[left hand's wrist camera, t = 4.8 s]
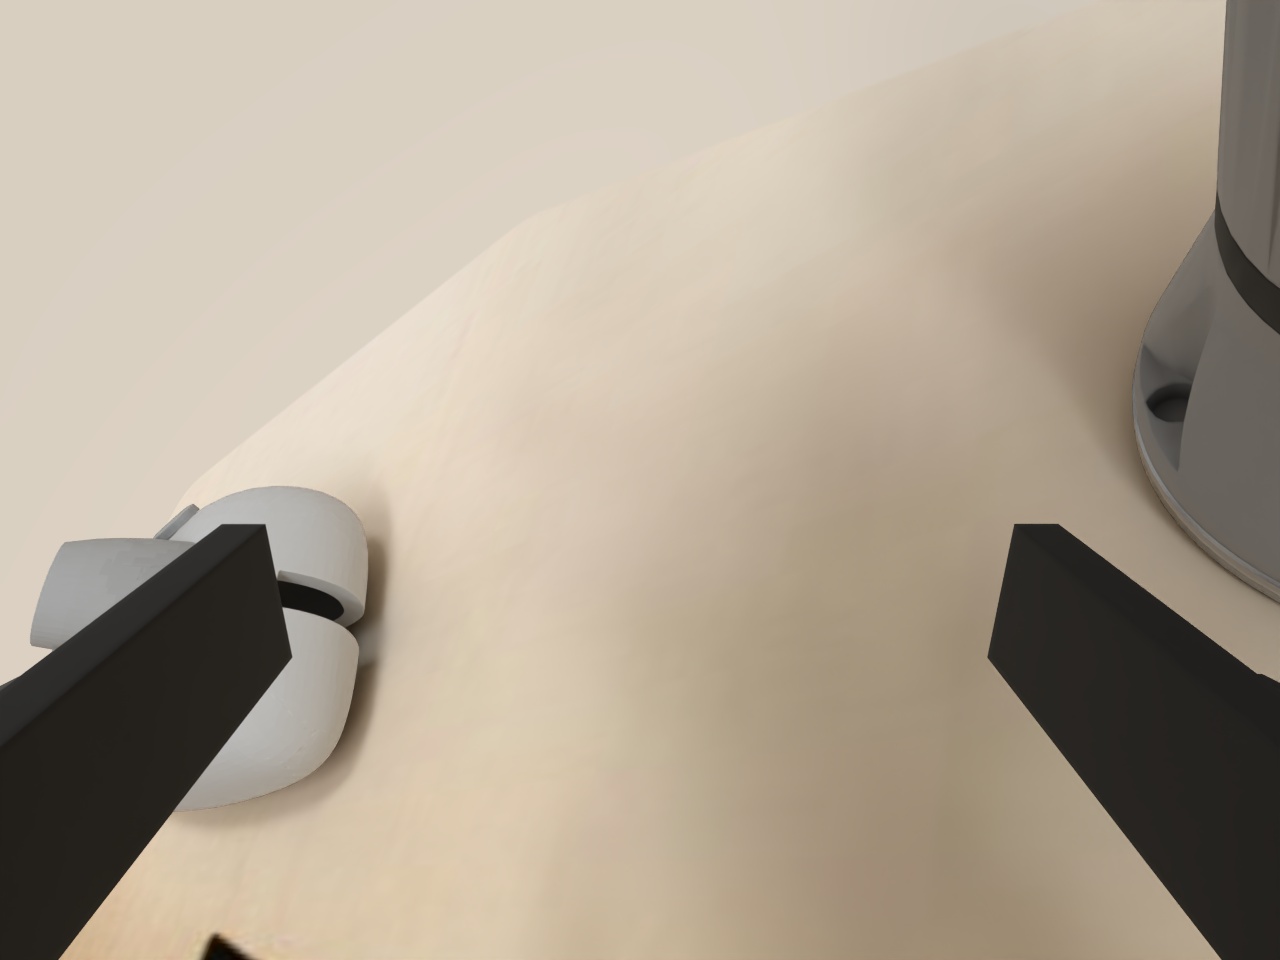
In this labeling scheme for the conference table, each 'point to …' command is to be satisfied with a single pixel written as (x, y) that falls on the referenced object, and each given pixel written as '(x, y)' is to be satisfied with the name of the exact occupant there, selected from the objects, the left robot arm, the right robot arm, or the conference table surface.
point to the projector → (313, 610)
